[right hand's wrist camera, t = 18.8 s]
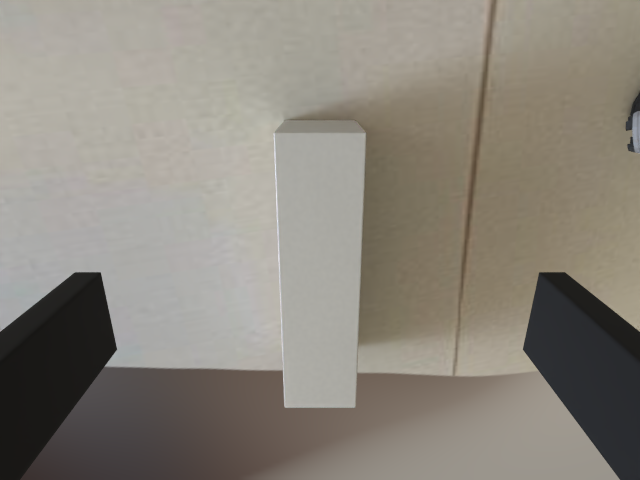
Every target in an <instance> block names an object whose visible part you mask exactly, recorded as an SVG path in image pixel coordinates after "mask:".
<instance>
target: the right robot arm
mask: <svg viewBox="0 0 640 480" xmlns="http://www.w3.org/2000/svg"><path fill="white" fill-rule="evenodd" d="M116 350H117V347H116V342H115V338H114V333H113V328H112V324H111V319H110V314H109V309H108V305H107V300H106V295H105V291H104V286H103V281H102V276H101V272H75V273H74V274H72V275H71V276H70V277H69V278H67V279H66V280H65V281H64V282H62V283H61V284H60V285H59V286H57V287H56V288H55V289H54V290H52V291H51V292H50V293H49V294H47V295H46V296H45V297H44V298H42V299H41V300H40V301H39V302H37V303H36V304H35V305H34V306H32V307H31V308H30V309H28V310H27V311H26V312H25V313H23V314H22V315H21V316H20V317H18V318H17V319H16V320H15V321H13V322H12V323H11V324H10V325H8V326H7V327H6V328H5V329H3V330H2V331H1V332H0V480H20V479H21V477H22V476H23V475H24V473H25V472H26V471H27V469H28V468H29V467H30V465H31V464H32V463H33V461H34V460H35V459H36V457H37V456H38V455H39V453H40V452H41V451H42V449H43V448H44V447H45V445H46V444H47V442H48V441H49V440H50V439H51V437H52V436H53V435H54V433H55V432H56V431H57V429H58V428H59V426H60V425H61V424H62V422H63V421H64V420H65V418H66V417H67V416H68V414H69V413H70V412H71V410H72V409H73V408H74V406H75V405H76V404H77V402H78V401H79V400H80V398H81V397H82V396H83V394H84V393H85V392H86V390H87V389H88V388H89V386H90V385H91V384H92V382H93V381H94V380H95V378H96V377H97V376H98V374H99V373H100V372H101V370H102V369H103V368H104V366H105V365H106V364H107V362H108V361H109V360H110V358H111V357H112V355H113V354H114V353H115V351H116ZM523 350H524V351H525V353H526V354H527V355H528V357H529V358H530V360H531V361H532V362H533V364H534V365H535V366H536V368H537V369H538V370H539V372H540V373H541V374H542V376H543V377H544V378H545V380H546V381H547V382H548V384H549V385H550V386H551V388H552V389H553V390H554V392H555V393H556V394H557V396H558V397H559V398H560V400H561V401H562V402H563V404H564V405H565V406H566V408H567V409H568V410H569V412H570V413H571V414H572V416H573V417H574V418H575V420H576V421H577V422H578V424H579V425H580V426H581V428H582V429H583V430H584V432H585V433H586V434H587V436H588V437H589V439H590V440H591V441H592V443H593V444H594V445H595V446H596V448H597V449H598V451H599V452H600V453H601V455H602V456H603V457H604V459H605V460H606V461H607V463H608V464H609V465H610V467H611V468H612V469H613V471H614V472H615V473H616V475H617V476H618V477H619V479H620V480H640V332H639V331H638V330H637V329H635V328H634V327H633V326H632V325H630V324H629V323H628V322H627V321H625V320H624V319H623V318H622V317H620V316H619V315H618V314H617V313H615V312H614V311H613V310H612V309H610V308H609V307H608V306H606V305H605V304H604V303H603V302H601V301H600V300H599V299H598V298H596V297H595V296H594V295H593V294H591V293H590V292H589V291H588V290H586V289H585V288H584V287H583V286H581V285H580V284H579V283H578V282H576V281H575V280H574V279H573V278H571V277H570V276H569V275H568V274H566V273H565V272H539V276H538V281H537V286H536V291H535V295H534V300H533V305H532V309H531V314H530V319H529V324H528V328H527V333H526V338H525V342H524V347H523Z"/></svg>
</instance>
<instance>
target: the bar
mask: <svg viewBox="0 0 640 480" xmlns="http://www.w3.org/2000/svg"><path fill="white" fill-rule="evenodd" d="M366 135H367V133H366V132H365V131H364V129H363V128H362V127H361V126H360V125H359V124H358V122H357V121H356V120H284V121H283V123H282V124H281V125H280V126H279V127H278V129H277V130H276V131H275V132H274V152H275V177H276V203H277V228H278V254H279V279H280V305H281V330H282V355H283V381H284V406H285V408H355V407H356V387H357V363H358V337H359V312H360V287H361V262H362V236H363V211H364V186H365V161H366Z"/></svg>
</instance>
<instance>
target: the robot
mask: <svg viewBox="0 0 640 480" xmlns="http://www.w3.org/2000/svg"><path fill="white" fill-rule="evenodd" d="M630 115H631V116H630V117H628V121H627V122H626V131H627V130H632V132H633V137H631V140H630V144H628V146H627V147H628V150H629V151H632V152H635V153H640V93H639V95H638V97H637V98H636V100H635V102H634V103H633V106H632V110H631V114H630Z"/></svg>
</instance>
